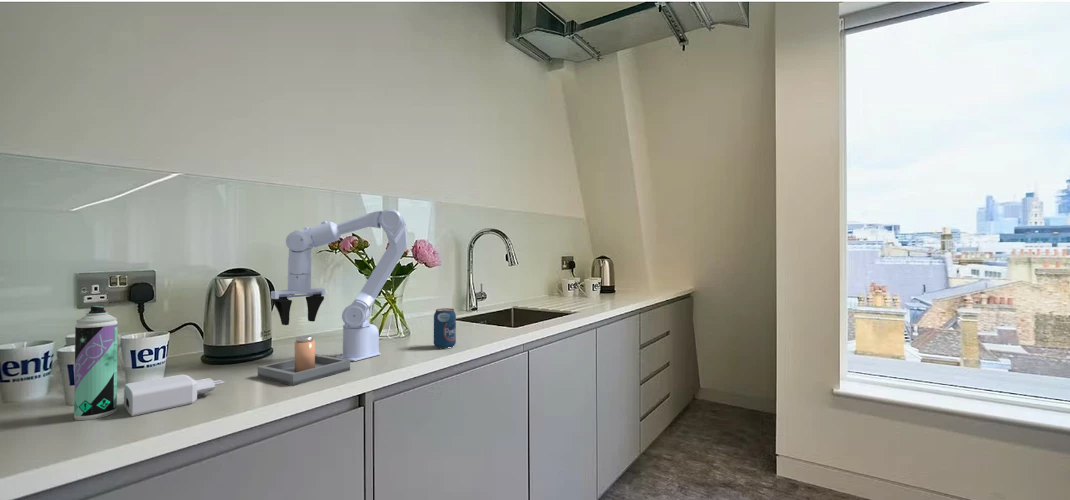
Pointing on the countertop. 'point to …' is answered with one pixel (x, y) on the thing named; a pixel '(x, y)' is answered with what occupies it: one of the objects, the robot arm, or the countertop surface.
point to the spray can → (95, 365)
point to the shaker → (304, 353)
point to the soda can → (444, 328)
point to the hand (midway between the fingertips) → (298, 322)
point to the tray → (287, 374)
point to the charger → (164, 393)
